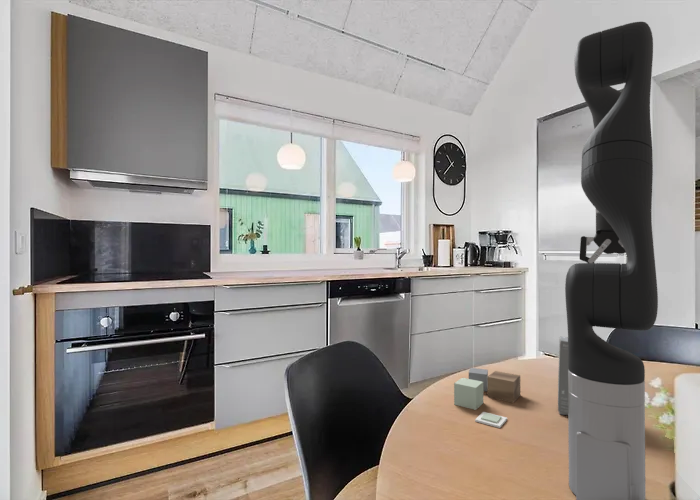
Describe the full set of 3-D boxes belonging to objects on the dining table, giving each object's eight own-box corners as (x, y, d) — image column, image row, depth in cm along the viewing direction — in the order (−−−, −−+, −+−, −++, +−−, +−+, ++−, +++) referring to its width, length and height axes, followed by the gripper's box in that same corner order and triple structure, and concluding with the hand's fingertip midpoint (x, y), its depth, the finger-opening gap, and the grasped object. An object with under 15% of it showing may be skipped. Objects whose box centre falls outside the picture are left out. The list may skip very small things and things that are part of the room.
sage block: (475, 410, 86) (475, 387, 86) (454, 404, 89) (454, 383, 89) (483, 403, 90) (483, 381, 90) (462, 398, 93) (462, 377, 93)
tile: (499, 428, 77) (499, 424, 77) (475, 421, 80) (475, 418, 80) (507, 419, 81) (507, 416, 81) (483, 413, 84) (483, 410, 84)
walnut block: (513, 403, 90) (513, 381, 90) (487, 397, 94) (487, 376, 94) (520, 395, 95) (520, 375, 95) (495, 390, 99) (495, 370, 99)
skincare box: (558, 414, 83) (557, 341, 84) (557, 403, 90) (557, 334, 90) (604, 422, 80) (604, 345, 80) (601, 410, 86) (600, 338, 86)
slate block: (486, 392, 97) (486, 374, 97) (468, 389, 99) (468, 372, 99) (487, 386, 101) (487, 369, 101) (470, 384, 103) (470, 367, 103)
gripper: (578, 211, 93) (578, 279, 93) (653, 207, 85) (654, 281, 84) (580, 214, 99) (581, 278, 99) (651, 210, 91) (652, 280, 90)
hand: (614, 279), depth 92 cm, fingers open, 8 cm apart
